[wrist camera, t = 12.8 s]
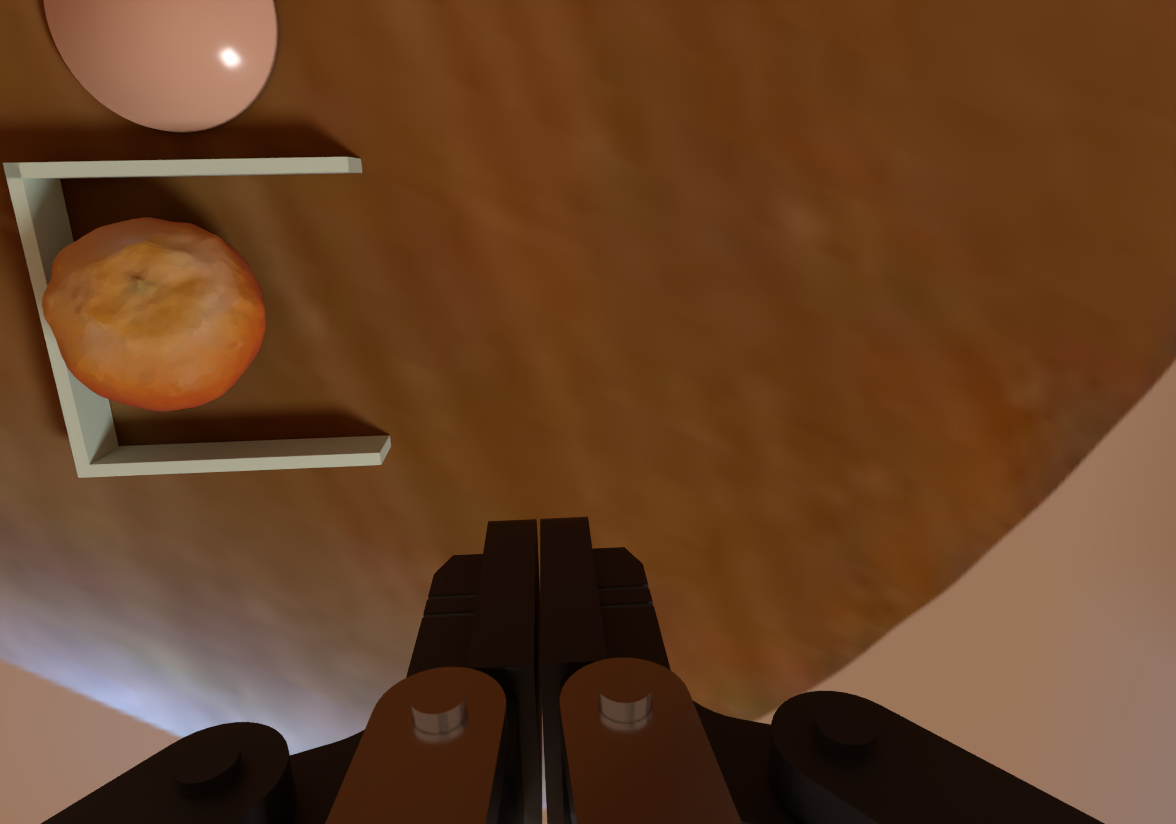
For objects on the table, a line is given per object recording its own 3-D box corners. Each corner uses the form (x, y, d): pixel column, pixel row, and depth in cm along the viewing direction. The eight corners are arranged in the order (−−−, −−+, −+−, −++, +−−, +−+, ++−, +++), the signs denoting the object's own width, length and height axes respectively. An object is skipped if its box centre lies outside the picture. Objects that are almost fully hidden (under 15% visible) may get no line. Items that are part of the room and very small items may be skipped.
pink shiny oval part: (28, -110, 29) (17, -116, 29) (262, -109, 30) (256, -115, 29) (79, 134, 32) (71, 133, 31) (292, 130, 32) (288, 129, 32)
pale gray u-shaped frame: (42, 164, 32) (2, 163, 30) (361, 158, 33) (347, 156, 30) (108, 458, 36) (78, 477, 34) (391, 446, 37) (381, 464, 34)
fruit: (66, 397, 34) (-29, 345, 26) (143, 248, 36) (76, 160, 28) (244, 454, 35) (203, 420, 27) (308, 307, 37) (287, 238, 30)
